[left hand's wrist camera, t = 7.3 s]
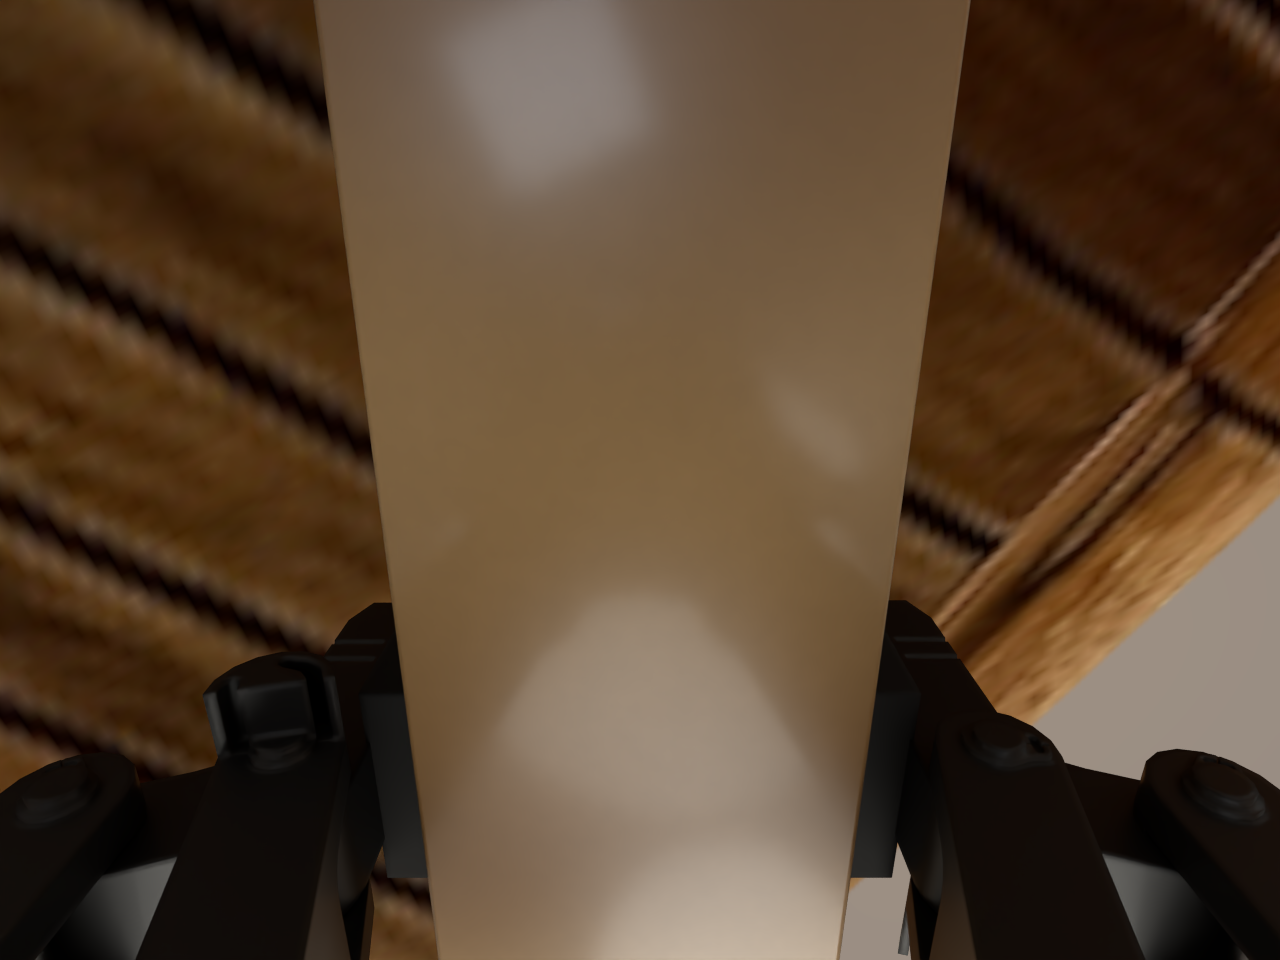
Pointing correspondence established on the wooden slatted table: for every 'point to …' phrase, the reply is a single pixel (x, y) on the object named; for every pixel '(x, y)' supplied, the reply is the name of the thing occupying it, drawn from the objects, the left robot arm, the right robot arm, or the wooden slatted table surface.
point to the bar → (640, 441)
